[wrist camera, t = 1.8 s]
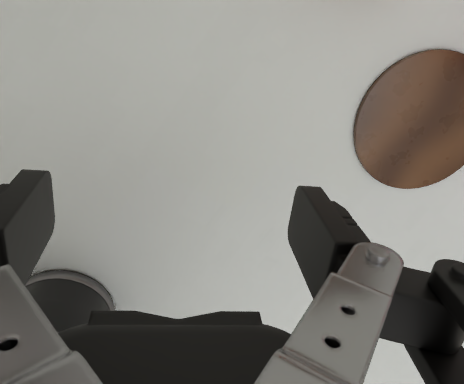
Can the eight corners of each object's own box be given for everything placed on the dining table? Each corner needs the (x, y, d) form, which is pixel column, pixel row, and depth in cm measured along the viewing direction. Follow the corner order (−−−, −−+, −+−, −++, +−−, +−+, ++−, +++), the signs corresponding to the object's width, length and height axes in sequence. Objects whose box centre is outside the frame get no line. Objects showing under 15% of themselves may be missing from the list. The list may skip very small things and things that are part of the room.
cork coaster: (333, 173, 35) (334, 175, 35) (388, 31, 31) (390, 32, 30) (449, 197, 38) (452, 199, 38) (517, 69, 33) (520, 70, 33)
